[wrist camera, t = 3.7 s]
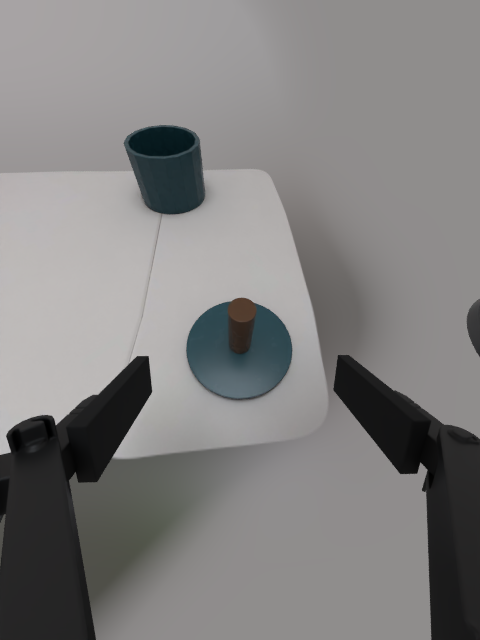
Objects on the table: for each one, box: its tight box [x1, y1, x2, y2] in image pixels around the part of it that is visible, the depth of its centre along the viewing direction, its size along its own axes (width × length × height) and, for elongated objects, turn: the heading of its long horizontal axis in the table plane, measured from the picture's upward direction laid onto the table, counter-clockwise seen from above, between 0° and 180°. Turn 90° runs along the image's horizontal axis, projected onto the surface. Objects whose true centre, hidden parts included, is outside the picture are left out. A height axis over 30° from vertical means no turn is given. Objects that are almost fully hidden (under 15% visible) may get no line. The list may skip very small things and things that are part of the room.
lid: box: [186, 298, 292, 399], centre depth 25 cm, size 13×13×9 cm
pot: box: [124, 125, 205, 214], centre depth 42 cm, size 12×12×10 cm
